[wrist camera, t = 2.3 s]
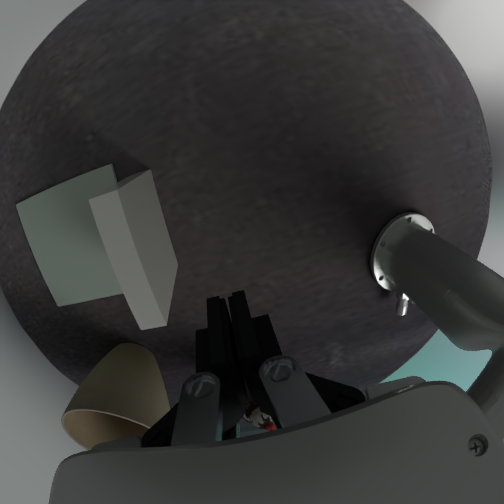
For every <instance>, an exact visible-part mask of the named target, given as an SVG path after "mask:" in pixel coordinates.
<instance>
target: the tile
mask: <svg viewBox="0 0 504 504" xmlns="http://www.w3.org/2000/svg"><path fill="white" fill-rule="evenodd" d="M89 203H90V206H91V209H92V213H93V216H94V219H95V222H96V225H97V228H98V230H99V233H100V236H101V239H102V242H103V244H104V247H105V250H106V252H107V255H108V258H109V260H110V263H111V265H112V268H113V270H114V272H115V275H116V277H117V280H118V282H119V284H120V287H121V289H122V291H123V293H124V296H125V298H126V300H127V302H128V304H129V307H130V309H131V311H132V313H133V315H134V317H135V319H136V321H137V323H138V325H139V327H140V329H141V330H145V329H151V328H156V327H162V326H167V321H168V315H169V309H170V303H171V298H172V292H173V287H174V282H175V277H176V272H177V267H178V263H177V260H176V257H175V254H174V250H173V247H172V244H171V241H170V237H169V234H168V231H167V227H166V224H165V220H164V217H163V214H162V210H161V206H160V203H159V199H158V195H157V192H156V188H155V184H154V180H153V176H152V172H151V169H150V170H146V171H143V172H139V173H136V174H133V175H130V176H128V177H126V178H125V179H123V180H121V181H119V182H117V183H116V184H114V185H112V186H110V187H109V188H107V189H105V190H104V191H102V192H100V193H98V194H97V195H95V196H94V197H92V198H90V199H89Z"/></svg>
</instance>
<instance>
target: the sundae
mask: <svg viewBox="0 0 504 504" xmlns="http://www.w3.org/2000/svg"><path fill="white" fill-rule="evenodd" d="M245 384H246V381H245ZM246 389H247V394H248V399H249V404H250V406H246V407H245V409H246V414H244V416H243V417H242V418H241V420H244V421H247V422H250V423H253V424H254V426H256V427H258V428H260V429H266V430H268V431H273V430H276V428H275V426H274V424H273V422H272V419H271V416H269V415H267V414H264V413H262V412H260V409H259V406H258V404H255V405H254V404H253V401H252V398H251V396H250V393H249V390H248V387H247V384H246Z"/></svg>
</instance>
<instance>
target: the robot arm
mask: <svg viewBox="0 0 504 504" xmlns="http://www.w3.org/2000/svg"><path fill="white" fill-rule="evenodd" d="M370 264H371V271H372V275H373V277H374V279H375V280H376V282H377V283H378V284H379V285H380V286H382V287H383V288H385V289H387V290H391V291H396V292H397V293H396V297H397V298H398V301H397V305H396V313H397V314H398V315H401V316H403V315H405V314H406V312H407V307H408V300H409V299H410V302H411V303H412V304H415V305H416V306H417V307H418V308H419V309H420V310H421V311H422V312H423V313H424V314H425V315H426V316H427V317H428V318H429V319H430V320H431V321H432V322H433V323H434V324H435V325H436V326H437V327H438V328H439V329H440V330H441V331H442V332H443V333H444V334H445V335H446V336H447V337H448V339H449V340H450V341H451V342H452V343H453V344H455V345H456V346H457V347H459V348H460V349H463V350H467V351H478V350H485V349H489V350H491V351H492V356H491V358H490V360H489V361H488V363H487V365H486V366H485V368H484V369H483V371H482V372H481V373H480V375H479V376H478V377H477V379H476V380H475V381H474V382H473V384H472V385H471V386H470V387H469V389H468V390H467V391H466V392H465V391H464V390H462V389H461V388H460V387H459V386H457V385H456V384H453V383H451V382H446V381H430V382H426V381H425V380H424V379H422V378H420V377H417V376H411V377H407V378H402V379H398V380H394V381H389V382H385V383H380V384H375V385H370V386H366V389H362V390H359V389H357V388H354V387H351V386H348V385H344V384H341V383H338V382H334V381H331V380H328V379H325V378H321V377H318V376H315V375H312V374H309V373H306V372H304V371H303V369H302V368H301V366H300V365H299V363H298V362H297V361H296V360H295V359H294V358H292V357H290V356H286V355H282V352H281V349H280V347H279V344H278V341H277V338H276V335H275V333H274V330H273V327H272V324H271V321H270V318H269V316H268V314H267V315H263V316H259V317H255V318H251V315H250V312H249V308H248V304H247V300H246V296H245V292H244V290H242V291H238V292H233V293H232V296H231V297H228V301H229V307H230V313H231V319H232V323H231V319H230V316H229V312H228V309H227V305H226V302H225V299H224V298H222V299H220V297H219V296H216V297H212V298H207V319H208V328H206V329H201V330H196V373H195V374H193V375H191V376H190V377H188V378H187V379H186V380H185V382H184V383H183V385H182V389H181V394H180V399H179V402H178V403H177V404H176V405H175V406H174V407H173V408H172V409H171V410H169V411H168V412H167V413H166V414H165V415H164V416H163V417H162V418H161V419H160V420H159V421H157V422H156V423H155V424H154V425H153V426H152V427H151V428H150V429H148V430H147V431H146V433H145V434H144V435H143V436H141V437H139V436H138V435H135V436H130V437H126V438H122V439H117V440H113V441H108V442H103V443H99V444H96V445H95V446H93V447H92V449H91V450H88V451H84V452H80V453H77V454H73V455H71V456H69V457H67V458H66V459H64V460H63V461H62V462H61V463H60V465H59V466H58V468H57V470H56V473H55V476H54V479H53V483H52V487H51V493H50V499H49V504H504V278H503V277H501V276H500V275H498V274H497V273H496V272H494V271H493V270H491V269H490V268H488V267H487V266H485V265H484V264H482V263H481V262H479V261H478V260H476V259H475V258H473V257H472V256H470V255H469V254H467V253H465V252H464V251H462V250H461V249H459V248H457V247H456V246H454V245H453V244H451V243H449V242H448V241H446V240H444V239H443V238H441V237H439V236H437V235H436V234H435V231H434V228H433V226H432V224H431V222H430V221H429V220H428V219H427V218H426V217H424V216H423V215H421V214H418V213H416V212H406V213H403V214H400V215H398V216H396V217H395V218H393V219H392V220H391V221H390V222H388V223H387V224H386V225H385V227H384V228H383V229H382V230H381V232H380V233H379V235H378V237H377V239H376V241H375V243H374V246H373V249H372V253H371V260H370ZM232 325H233V326H232ZM244 378H245V379H244ZM245 381H246V384H247V387H248V390H249V393H250V396H251V398H252V401H253V404H254V405H255V404H258V406H259V409H260V412H262V413H264V414H267V415H269V416H271V419H272V422H273V424H274V426H275V428H276V430H273V431H269V432H265V433H260V434H256V435H251V436H245V437H240V438H239V431H240V426H239V420H240V419H241V418H242V417H243V416H244V414H246V409H245V407H246V406H250V404H249V399H248V394H247V389H246V384H245Z"/></svg>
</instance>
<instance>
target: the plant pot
mask: <svg viewBox="0 0 504 504" xmlns="http://www.w3.org/2000/svg"><path fill="white" fill-rule="evenodd" d="M169 410H170V407H169V402H168V398H167V394H166V390H165V386H164V383H163V379H162V376H161V373H160V370H159V367H158V364H157V362H156V359H155V357H154V355H153V354H152V353H151V352H150V351H149V350H148V349H146V348H145V347H143V346H141V345H138V344H135V343H122V344H119V345H117V346H116V347H115V348H113V349H112V350H111V351H110V352H109V353H108V354H107V355H106V356H105V357H104V358H103V359H102V360H101V361H100V362H99V363H98V364H97V365H96V366H95V367H94V368H93V369H92V371H91V372H90V373H89V374H88V376H87V377H86V378H85V379H84V381H83V382H82V384H81V385H80V387H79V388H78V390H77V391H76V393H75V394H74V396H73V398H72V399H71V401H70V403H69V405H68V407H67V408H66V410H65V412H64V414H63V416H62V419H61V421H62V426H63V428H64V430H65V431H66V432H67V434H68V435H69V436H70V437H71V438H72V439H73V440H74V441H75V442H77V443H78V444H79V445H81V446H82V447H84V448H85V449H87V450H91V449H92V447H93V446H95V445H96V444H99V443H103V442H108V441H113V440H117V439H122V438H126V437H130V436H135V435H138V436H139V437H141V436H143V435H144V434H145V433H146V431H147V430H148V429H150V428H151V427H152V426H153V425H154V424H155V423H156V422H157V421H159V420H160V419H161V418H162V417H163V416H164V415H165V414H166V413H167V412H168V411H169Z"/></svg>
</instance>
